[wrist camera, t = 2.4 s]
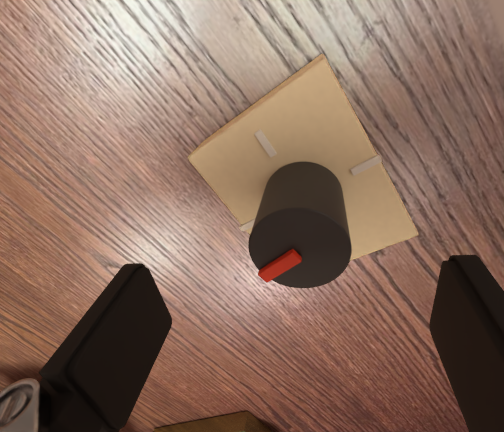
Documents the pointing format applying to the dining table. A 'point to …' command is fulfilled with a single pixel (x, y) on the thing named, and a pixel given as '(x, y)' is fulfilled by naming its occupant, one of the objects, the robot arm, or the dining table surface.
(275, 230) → the dial
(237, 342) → the dining table surface
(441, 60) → the dining table surface
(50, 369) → the robot arm
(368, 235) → the rotary knob control box
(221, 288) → the dining table surface
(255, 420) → the switch box
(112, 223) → the dining table surface
